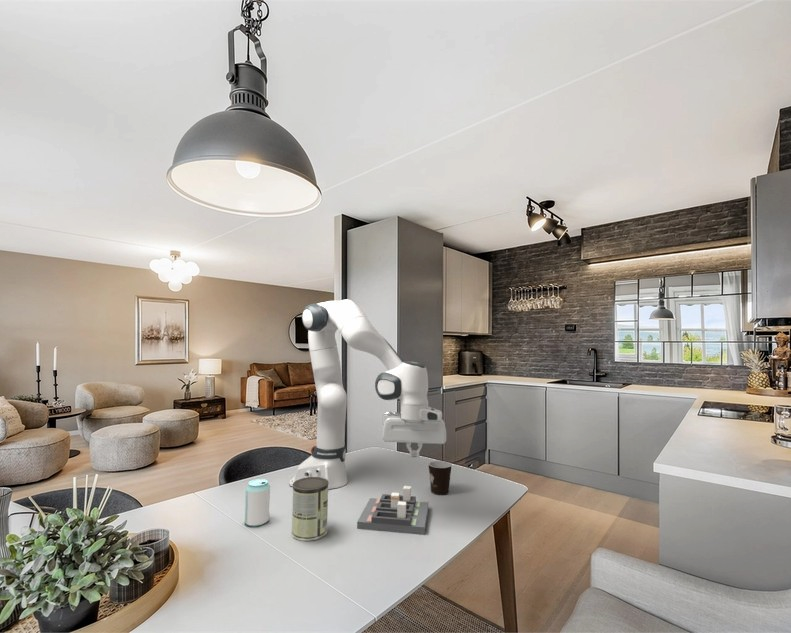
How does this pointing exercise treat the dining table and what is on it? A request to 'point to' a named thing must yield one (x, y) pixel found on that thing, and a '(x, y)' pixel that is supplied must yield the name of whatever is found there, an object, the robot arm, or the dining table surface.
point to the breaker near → (401, 509)
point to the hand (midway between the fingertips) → (414, 456)
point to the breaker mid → (394, 499)
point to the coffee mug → (439, 477)
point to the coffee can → (310, 508)
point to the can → (257, 502)
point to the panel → (394, 516)
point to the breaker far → (407, 493)
